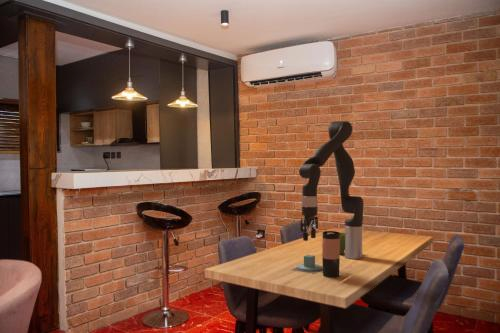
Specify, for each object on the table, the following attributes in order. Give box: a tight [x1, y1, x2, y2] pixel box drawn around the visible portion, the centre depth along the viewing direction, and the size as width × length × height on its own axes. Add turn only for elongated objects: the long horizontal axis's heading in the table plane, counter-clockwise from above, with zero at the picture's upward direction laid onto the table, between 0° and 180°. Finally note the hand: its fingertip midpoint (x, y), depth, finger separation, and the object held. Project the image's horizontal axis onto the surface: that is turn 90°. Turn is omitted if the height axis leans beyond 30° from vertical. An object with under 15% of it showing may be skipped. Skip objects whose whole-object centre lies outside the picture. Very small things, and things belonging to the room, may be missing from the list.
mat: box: [291, 265, 323, 275], centre depth 196 cm, size 15×12×1 cm
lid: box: [297, 254, 322, 272], centre depth 196 cm, size 11×11×6 cm
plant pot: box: [338, 231, 345, 255], centre depth 232 cm, size 12×12×11 cm
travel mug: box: [321, 230, 341, 279], centre depth 184 cm, size 8×8×20 cm
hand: (309, 239), depth 196 cm, fingers open, 8 cm apart
